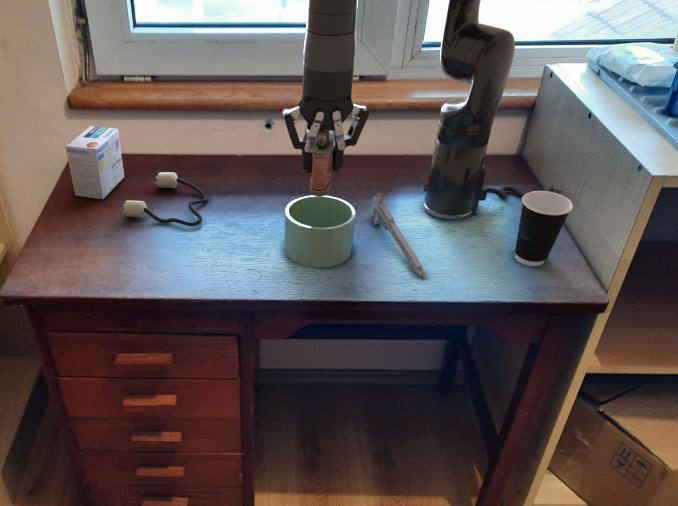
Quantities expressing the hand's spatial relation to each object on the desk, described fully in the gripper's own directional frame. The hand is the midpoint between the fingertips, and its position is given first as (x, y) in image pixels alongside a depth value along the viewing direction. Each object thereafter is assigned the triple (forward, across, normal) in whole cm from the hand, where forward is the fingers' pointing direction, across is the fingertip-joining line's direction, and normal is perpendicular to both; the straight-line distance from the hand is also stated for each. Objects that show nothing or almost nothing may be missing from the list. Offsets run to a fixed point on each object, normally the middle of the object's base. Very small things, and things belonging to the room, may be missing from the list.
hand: (321, 170), depth 108 cm
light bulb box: (+15, -40, +30) cm, 52 cm away
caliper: (+15, +14, -1) cm, 21 cm away
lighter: (+3, 0, 0) cm, 3 cm away
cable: (+15, -25, +20) cm, 35 cm away
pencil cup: (+15, 0, 0) cm, 15 cm away
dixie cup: (+15, +36, -8) cm, 40 cm away
